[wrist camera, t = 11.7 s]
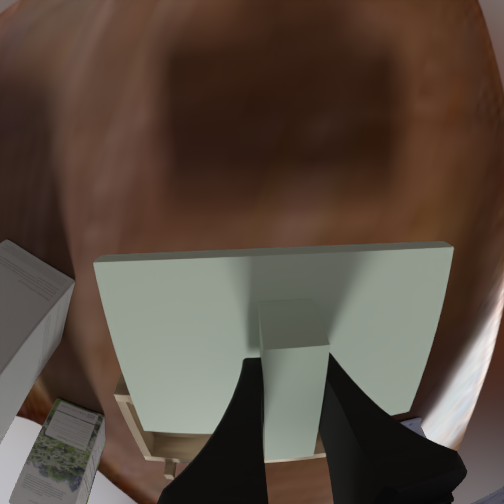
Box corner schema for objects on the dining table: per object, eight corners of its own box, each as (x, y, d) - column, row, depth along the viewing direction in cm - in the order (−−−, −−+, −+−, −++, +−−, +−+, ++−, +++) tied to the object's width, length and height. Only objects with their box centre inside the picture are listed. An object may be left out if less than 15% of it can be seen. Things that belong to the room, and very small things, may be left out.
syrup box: (62, 424, 29) (24, 523, 15) (56, 394, 27) (6, 505, 13) (106, 440, 30) (77, 546, 16) (105, 413, 27) (67, 533, 14)
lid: (444, 240, 12) (497, 275, 9) (404, 402, 16) (428, 449, 12) (100, 255, 12) (56, 298, 8) (146, 420, 15) (132, 474, 12)
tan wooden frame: (343, 345, 24) (360, 387, 20) (325, 436, 29) (333, 472, 25) (120, 351, 24) (102, 392, 20) (155, 441, 29) (148, 476, 25)
